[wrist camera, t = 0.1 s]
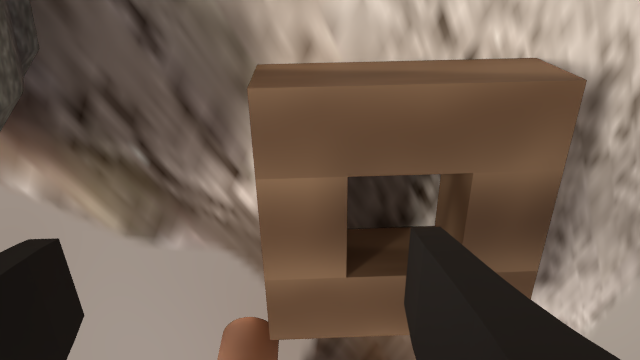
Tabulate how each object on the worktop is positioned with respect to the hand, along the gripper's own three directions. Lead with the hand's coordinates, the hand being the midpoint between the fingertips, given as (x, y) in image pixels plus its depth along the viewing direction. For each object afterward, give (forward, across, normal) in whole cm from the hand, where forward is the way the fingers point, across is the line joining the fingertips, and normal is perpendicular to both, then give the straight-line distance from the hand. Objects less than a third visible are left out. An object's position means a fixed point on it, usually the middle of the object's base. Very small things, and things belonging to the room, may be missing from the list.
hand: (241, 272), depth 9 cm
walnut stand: (+10, -5, +3) cm, 12 cm away
